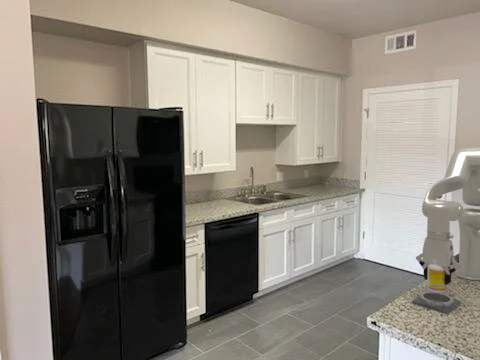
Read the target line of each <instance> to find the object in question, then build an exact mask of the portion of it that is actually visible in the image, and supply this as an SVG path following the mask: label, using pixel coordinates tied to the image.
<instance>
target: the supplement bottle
mask: <svg viewBox="0 0 480 360" xmlns="http://www.w3.org/2000/svg"><path fill="white" fill-rule="evenodd" d="M433 262H434V264H428V269H427V280H426V288H427V290H428V291H429V292H435V293H442V294H445V293H446V292H447V289H448V288H447V287H448V284H447V285H445V274H446V271H445V269H444V267H442V266H439V265H437V264H436V262H437V261H436V260H433Z"/></svg>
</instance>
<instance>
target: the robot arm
mask: <svg viewBox="0 0 480 360" xmlns="http://www.w3.org/2000/svg"><path fill="white" fill-rule="evenodd" d="M458 190H462V203H464V205H467V206H470V208H469V207H467V208H464V207H463V204H461V203H460V202H458V201H451V200H443V199H442V200H441V199H438V198H439V197H441V196H442V195H444V194H448V193H452V192H455V191H458ZM471 206H472V207H480V147H474V146H472V147H460V148H457V149H455V150H454V151H453V153H452V155H451V158H450V160H449V163H448V166H447V169H446V173H445V175H444V178H442V179H440V180H438V181H437V182H435V183H434V184H433V185H431V187H430V188H429V189H428V190H427V191H426V193H425V196H424V199H423V202H422V206H421V212H422V215H423V216H424V217H426V218H427V219H426V222H427V224H426V226H427V227H426V237H425V238H424V242H423V245H422V246H423V247H422V253H420V254H418V255H417V256H416V257H415V260H416V261H417V262H418V264H419V265H420V267H422V270H423V277H424V280H426V281H427V269H428V264H434V262H433V260H436V261H437V262H436V264H437V265H439V266H442V267H444V269H445V271H446V274H445V285H447V286H448V285H449V284H450V283H451V282H452V274H453V273H454V275H455V276H456V277H458V278H461V279H465V280H469V281H480V208H471ZM451 222H458V226H459V227H458V228H459V251H458V261H457V260H456V259H455V252H454V245H453V240H452V239H454V234H452V233H451V230H450V229H451ZM453 265H454V266H453ZM451 266H453V267H451Z"/></svg>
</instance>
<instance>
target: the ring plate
mask: <svg viewBox="0 0 480 360" xmlns="http://www.w3.org/2000/svg"><path fill="white" fill-rule="evenodd" d="M411 304H413V305H416V306H419V307H422V308H425V309H429V310H432V311H436V312H438V313H443V314H445V315H450V314H451V313H452V312H454V310H456V309H457V308H458V307H459V306H460V305H461V304H462V300H458V299H455V298H453V297H452V296H450V295H448V294H446V293H435V292H432V291H424V292H422V293H420V295H419V296H417V297H416V298H415V299H412V300H411Z"/></svg>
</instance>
